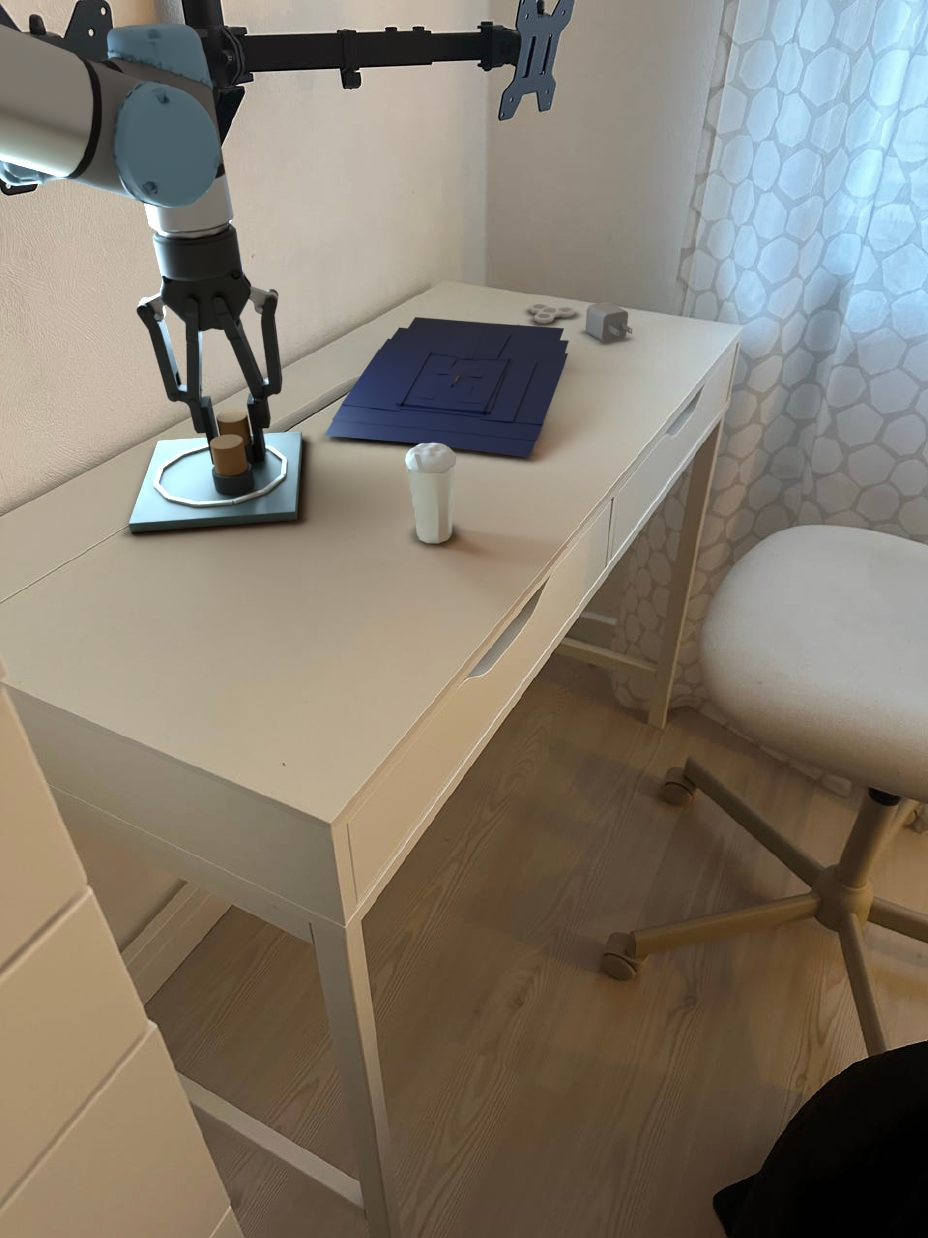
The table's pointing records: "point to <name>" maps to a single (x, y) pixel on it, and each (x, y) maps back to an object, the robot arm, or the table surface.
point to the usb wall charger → (607, 322)
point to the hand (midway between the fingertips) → (239, 456)
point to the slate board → (188, 494)
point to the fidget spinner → (550, 312)
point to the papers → (457, 386)
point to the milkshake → (432, 490)
